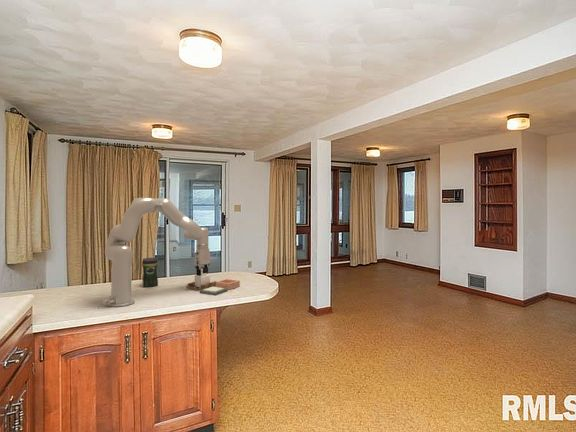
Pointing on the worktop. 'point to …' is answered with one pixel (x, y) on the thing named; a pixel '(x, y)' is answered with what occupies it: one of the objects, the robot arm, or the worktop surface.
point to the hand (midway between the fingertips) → (202, 274)
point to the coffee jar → (149, 272)
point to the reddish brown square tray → (228, 284)
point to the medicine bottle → (202, 278)
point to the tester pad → (213, 289)
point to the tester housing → (213, 292)
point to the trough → (208, 285)
